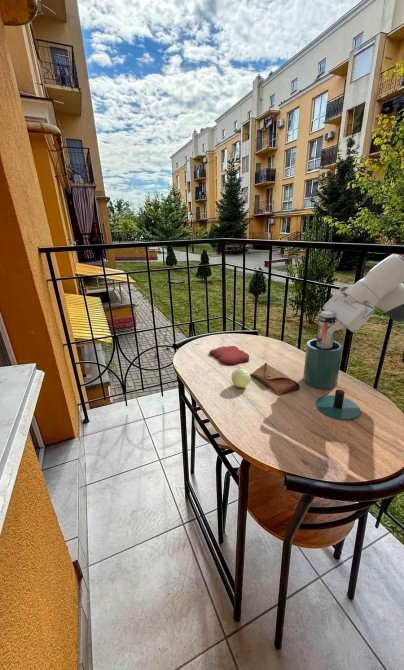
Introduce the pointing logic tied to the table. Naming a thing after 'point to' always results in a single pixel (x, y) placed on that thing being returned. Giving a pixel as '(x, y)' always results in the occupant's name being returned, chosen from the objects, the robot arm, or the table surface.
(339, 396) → the lid
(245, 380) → the tennis ball
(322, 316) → the beer can
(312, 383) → the tin
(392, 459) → the table surface
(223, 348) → the red cloth
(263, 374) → the sunglasses case
